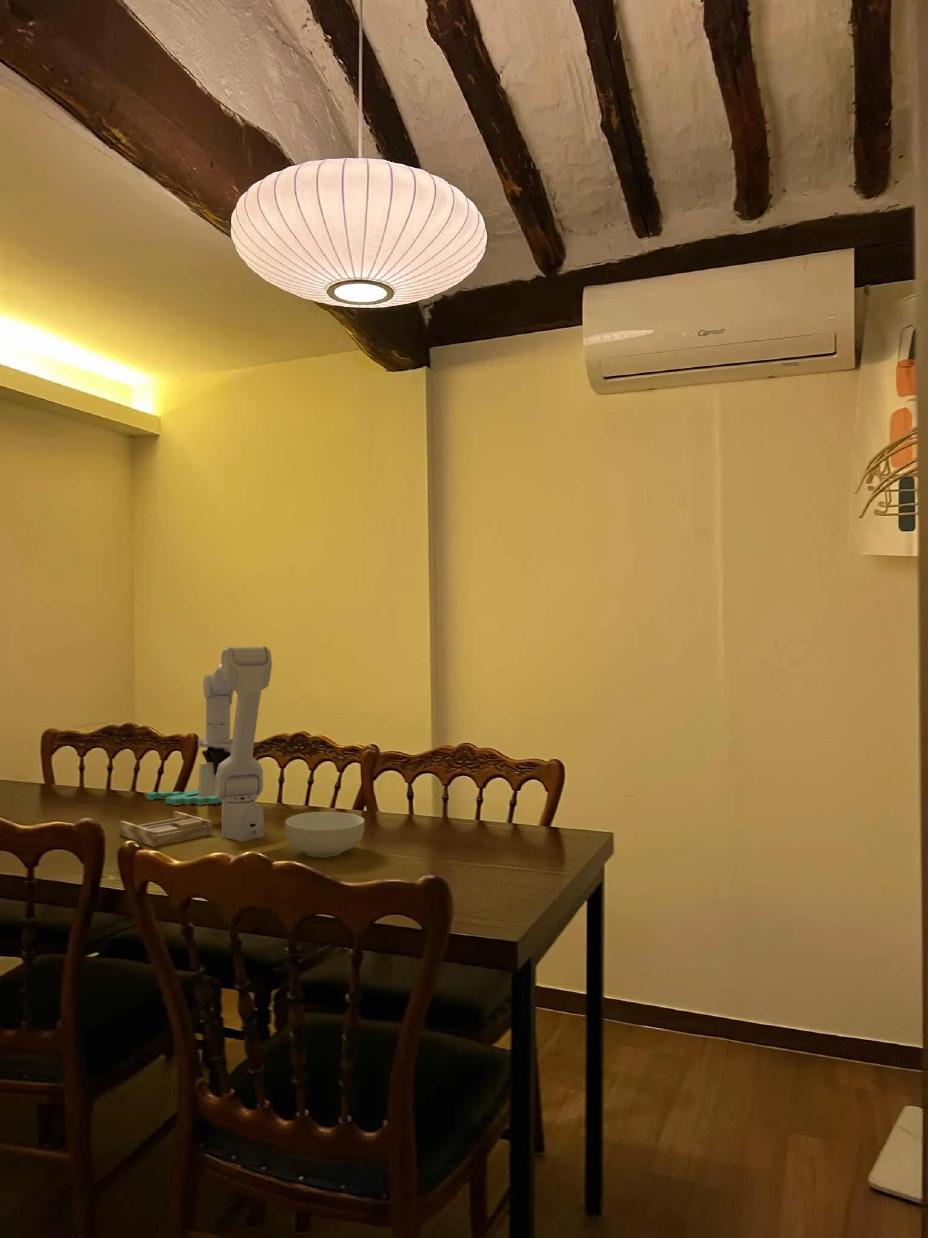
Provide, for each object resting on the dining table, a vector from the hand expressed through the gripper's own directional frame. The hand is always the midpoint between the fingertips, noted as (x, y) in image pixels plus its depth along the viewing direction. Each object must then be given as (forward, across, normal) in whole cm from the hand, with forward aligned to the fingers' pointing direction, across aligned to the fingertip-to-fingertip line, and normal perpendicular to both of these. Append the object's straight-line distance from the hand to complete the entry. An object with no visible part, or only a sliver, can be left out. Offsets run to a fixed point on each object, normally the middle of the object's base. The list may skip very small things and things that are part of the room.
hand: (217, 779), depth 206 cm
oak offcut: (+9, +10, -14) cm, 20 cm away
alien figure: (+11, -27, +12) cm, 32 cm away
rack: (+10, +6, -17) cm, 21 cm away
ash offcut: (+9, +10, -20) cm, 24 cm away
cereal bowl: (+11, +41, 0) cm, 42 cm away
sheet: (+4, 0, 0) cm, 4 cm away
